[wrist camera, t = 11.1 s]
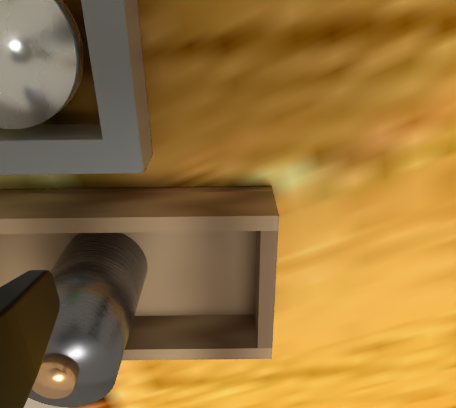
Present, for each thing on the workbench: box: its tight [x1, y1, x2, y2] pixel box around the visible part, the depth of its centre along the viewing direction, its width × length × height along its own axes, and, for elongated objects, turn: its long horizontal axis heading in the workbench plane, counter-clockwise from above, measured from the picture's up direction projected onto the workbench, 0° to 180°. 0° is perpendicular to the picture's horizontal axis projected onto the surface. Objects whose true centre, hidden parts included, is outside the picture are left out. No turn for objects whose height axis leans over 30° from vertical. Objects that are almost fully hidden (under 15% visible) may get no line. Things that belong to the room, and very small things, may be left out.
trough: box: [0, 186, 279, 360], centre depth 21 cm, size 18×8×3 cm, turn 91°
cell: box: [28, 233, 148, 407], centre depth 18 cm, size 4×4×8 cm
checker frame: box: [0, 0, 153, 175], centre depth 16 cm, size 10×10×2 cm
